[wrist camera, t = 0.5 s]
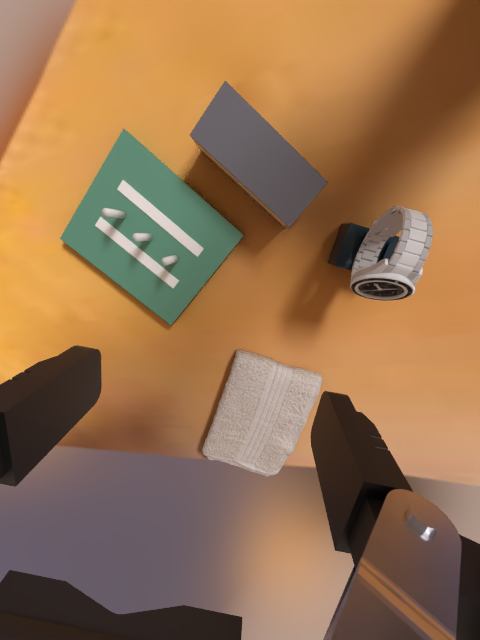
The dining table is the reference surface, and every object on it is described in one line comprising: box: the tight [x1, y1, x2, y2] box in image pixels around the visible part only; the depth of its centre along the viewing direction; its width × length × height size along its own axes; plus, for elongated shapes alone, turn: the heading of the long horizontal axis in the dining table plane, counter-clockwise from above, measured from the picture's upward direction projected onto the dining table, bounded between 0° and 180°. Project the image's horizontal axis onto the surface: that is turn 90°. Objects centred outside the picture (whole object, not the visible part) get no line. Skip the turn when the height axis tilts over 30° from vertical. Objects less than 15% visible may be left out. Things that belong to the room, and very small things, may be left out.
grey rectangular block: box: [190, 81, 328, 228], centre depth 26 cm, size 12×5×5 cm, turn 50°
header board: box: [60, 129, 244, 325], centre depth 29 cm, size 14×16×5 cm
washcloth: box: [202, 350, 322, 477], centre depth 37 cm, size 12×18×3 cm, turn 163°
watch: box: [328, 206, 433, 300], centre depth 25 cm, size 6×8×11 cm
